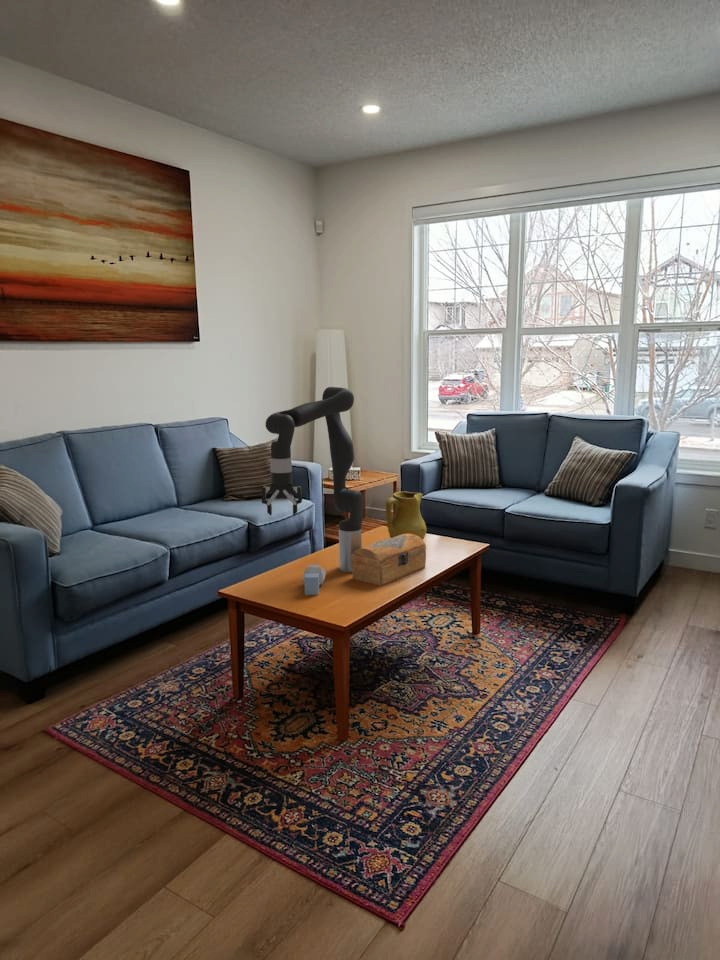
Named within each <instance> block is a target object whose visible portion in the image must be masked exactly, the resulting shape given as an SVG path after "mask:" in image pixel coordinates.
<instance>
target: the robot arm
mask: <svg viewBox="0 0 720 960" xmlns="http://www.w3.org/2000/svg"><path fill="white" fill-rule="evenodd" d="M321 399H322V400H321ZM321 399H320V400H315V401H311V402H306V403H303V404H300V405H298V406H294V407H293V408H290V409H286V410H282V411H281V410H280V411H278V412H274V413H272V414H270V415H269V416H268V417H267V418H266V420H265V428H266V430H267V431H268V432H269V433H270V434H274V435H278V437H277V440H275V441H273V442H271V444H270V468H269V469H270V486H266V485H264V486H263V487H262V488H261V503H262V504H264V505H266V508H267V510H266V511H267V514H269V515H268V516H272V515H273V508H272V507H273V505H272V502H273V501H274V500H275V499H277V500H280V499H283V500H286V499H288V500H289V501H290V502H291V503H292V515H293V516H296V514H297V513H298V505H299V504H301V503H302V502H303V495H302V494H303V493H302V486H301V485H298V486H293V465H292V450H291V449H292V448H291V446H292V441H293V438H294V433H295V428H299V427H302V426H305V425H307V424H309V423H311V422H313V421H315V420H318V419H321V418H324V417H325V422H326V427H327V434H328V441H329V453H330V458H331V459H330V460H331V461H330V462H331V467H332V478H333V503H334V504H333V505H334V508H335V509H336V510H337V511H338V512H343V513H349V517H348V518H346V519H343V520H340V521H339V522H338V551H339V553H338V556H339V557H338V558H339V560H338V561H339V562H338V563H339V565H338V566H339V570H340V572H343V573H352V560H351V554H353V552H354V551H355V550H357V549H360V548H363V546H362V541H363V538H362V524H363V519H364V517H363V512H364V498H363V497H364V496H363V493H362V492H361V491H360V490H356V489H355V490H354V489H347V487H346V486H347V485H346V478H347V475H348V473H349V471H350V469H351V468H352V466H353V463H354V460H355V451H354V443H353V440H352V438H351V436H350V434H349V433H348V431H347V429H346V428H345V426H344V424H343V421H342V418H341V413H343V412H347V411H349V410H351V408H352V407H353V405H354V402H355V397H354V394H353V392H352V391H351V390H350V389H349V388H346V387H337V386H336V387H335V386H328V387H326V388H325V389H324V390H323V392H322V397H321ZM269 491H270V492H271V494H272V495H271V497H270V498H269V499H267V493H268V492H269ZM293 491H295V493H296V494H297V499H296V498H295V497H294V495H293V494H292V492H293Z"/></svg>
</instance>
